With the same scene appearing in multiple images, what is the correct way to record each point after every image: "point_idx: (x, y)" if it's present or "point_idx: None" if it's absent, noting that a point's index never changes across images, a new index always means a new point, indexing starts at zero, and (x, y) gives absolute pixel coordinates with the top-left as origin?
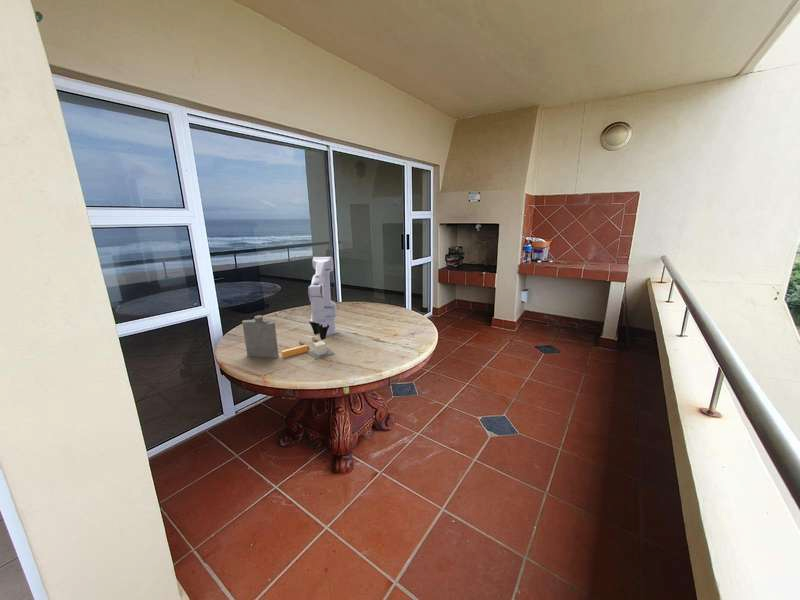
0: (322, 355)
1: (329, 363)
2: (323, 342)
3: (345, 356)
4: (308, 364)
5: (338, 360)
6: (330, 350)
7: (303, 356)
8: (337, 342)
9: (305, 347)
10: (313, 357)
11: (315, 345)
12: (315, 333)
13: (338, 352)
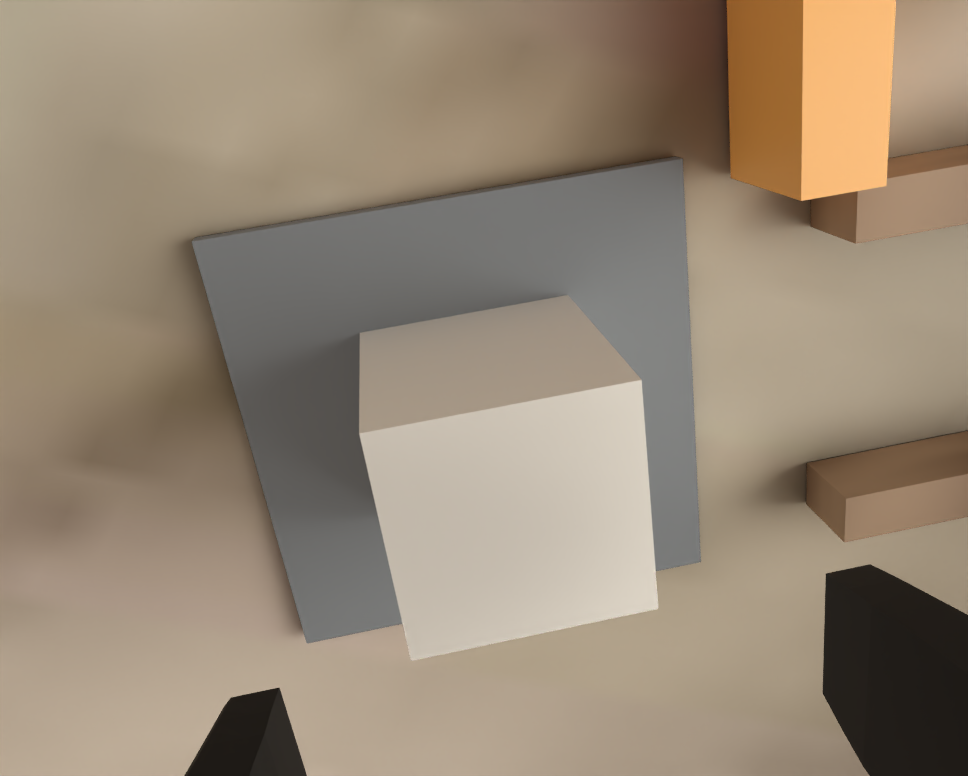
0: (334, 419)
1: None
2: (534, 619)
3: (140, 760)
4: (18, 21)
5: (7, 634)
6: None
7: (532, 18)
8: (779, 744)
9: (783, 143)
10: (314, 220)
11: (492, 397)
12: (854, 628)
13: (366, 692)
